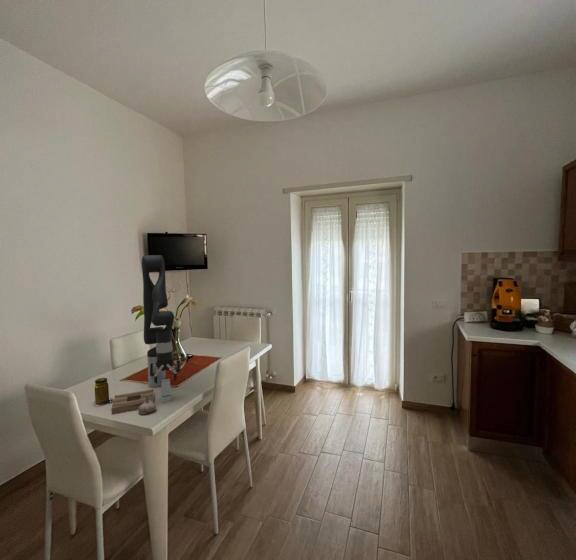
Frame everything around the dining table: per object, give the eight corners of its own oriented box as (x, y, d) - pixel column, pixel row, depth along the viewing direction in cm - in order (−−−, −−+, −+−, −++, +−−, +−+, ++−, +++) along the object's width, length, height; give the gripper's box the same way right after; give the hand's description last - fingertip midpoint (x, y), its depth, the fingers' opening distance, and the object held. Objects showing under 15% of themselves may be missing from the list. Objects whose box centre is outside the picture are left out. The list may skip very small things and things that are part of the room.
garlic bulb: (159, 409, 149) (158, 393, 148) (148, 416, 142) (148, 399, 141) (145, 407, 151) (145, 391, 150) (134, 414, 144) (134, 398, 143)
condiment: (93, 402, 157) (92, 379, 157) (112, 397, 163) (111, 375, 162) (95, 407, 152) (94, 383, 151) (115, 402, 157) (114, 379, 156)
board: (115, 401, 158) (115, 395, 158) (153, 394, 165) (153, 389, 165) (111, 414, 144) (111, 408, 144) (153, 406, 151) (153, 400, 151)
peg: (162, 398, 160) (161, 380, 159) (170, 397, 162) (169, 378, 161) (162, 402, 156) (161, 382, 155) (171, 400, 158) (170, 381, 157)
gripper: (178, 347, 163) (179, 377, 164) (149, 350, 158) (150, 381, 158) (179, 350, 157) (181, 381, 157) (148, 354, 151) (150, 386, 152)
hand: (165, 381), depth 158 cm, fingers open, 8 cm apart
